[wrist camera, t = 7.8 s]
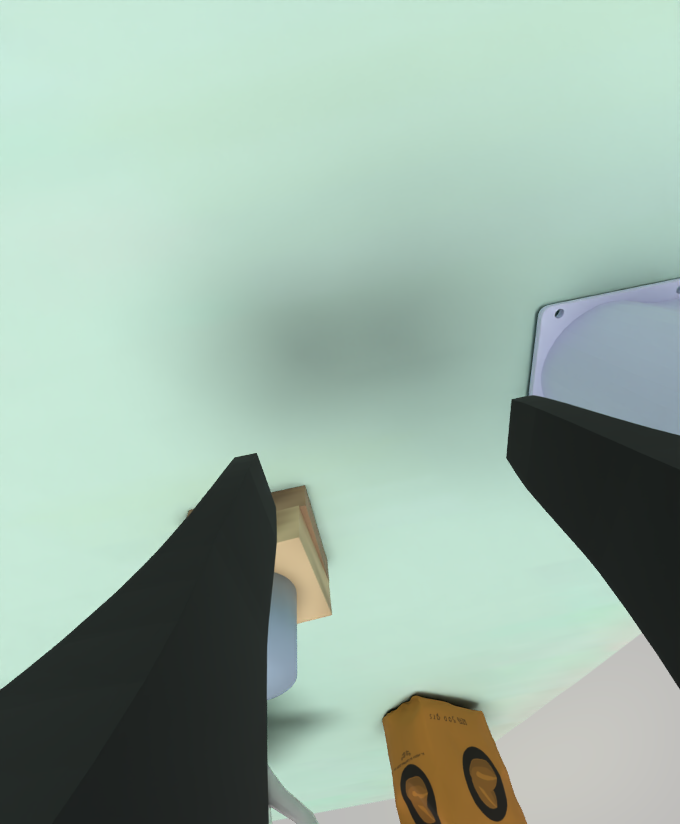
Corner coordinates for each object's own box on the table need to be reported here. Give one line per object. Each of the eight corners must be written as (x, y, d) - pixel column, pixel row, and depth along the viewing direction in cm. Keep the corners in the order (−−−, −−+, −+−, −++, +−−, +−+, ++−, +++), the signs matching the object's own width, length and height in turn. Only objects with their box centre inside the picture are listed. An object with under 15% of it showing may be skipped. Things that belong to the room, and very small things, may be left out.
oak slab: (298, 505, 21) (299, 537, 19) (328, 581, 25) (332, 615, 23) (176, 537, 21) (162, 572, 19) (225, 608, 25) (218, 643, 23)
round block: (288, 563, 20) (287, 643, 16) (302, 612, 23) (304, 693, 19) (204, 578, 20) (181, 663, 16) (227, 626, 22) (212, 711, 18)
